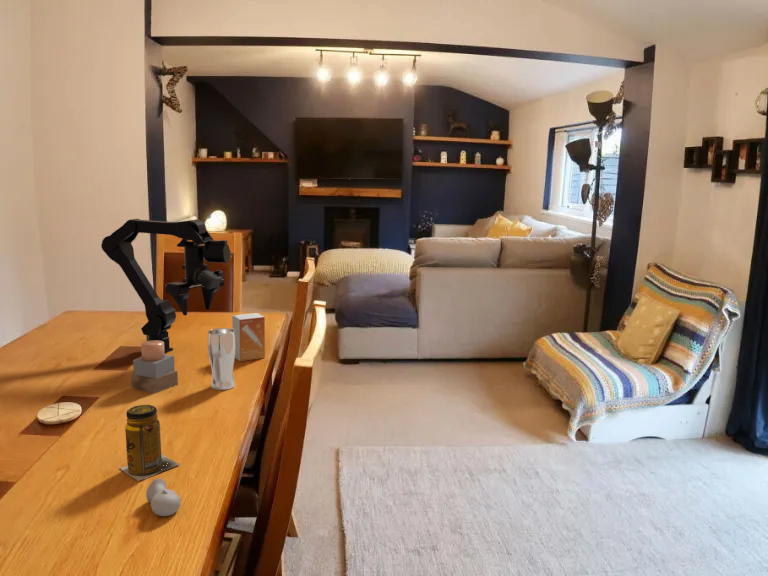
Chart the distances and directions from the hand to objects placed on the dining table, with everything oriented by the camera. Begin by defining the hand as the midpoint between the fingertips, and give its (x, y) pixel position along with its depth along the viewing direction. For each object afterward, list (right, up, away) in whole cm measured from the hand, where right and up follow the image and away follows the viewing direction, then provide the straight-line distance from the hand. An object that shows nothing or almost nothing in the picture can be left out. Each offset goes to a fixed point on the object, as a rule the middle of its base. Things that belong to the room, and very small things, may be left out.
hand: (196, 312), depth 183 cm
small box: (+16, -14, 0) cm, 21 cm away
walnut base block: (-3, -19, -26) cm, 32 cm away
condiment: (+13, -27, -69) cm, 75 cm away
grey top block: (-2, -15, -27) cm, 31 cm away
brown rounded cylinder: (-2, -11, -28) cm, 30 cm away
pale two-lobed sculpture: (+20, -30, -82) cm, 90 cm away
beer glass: (+15, -19, -25) cm, 35 cm away
